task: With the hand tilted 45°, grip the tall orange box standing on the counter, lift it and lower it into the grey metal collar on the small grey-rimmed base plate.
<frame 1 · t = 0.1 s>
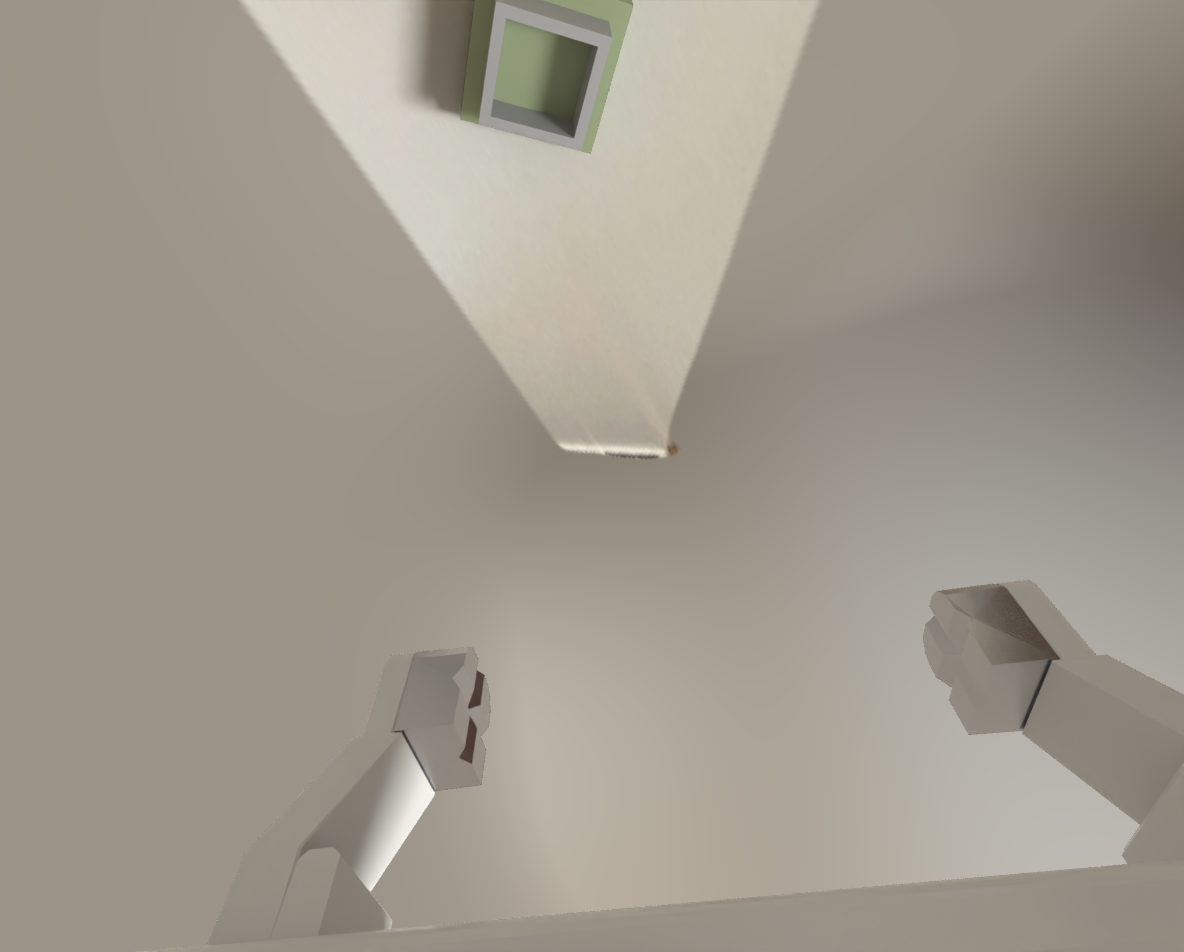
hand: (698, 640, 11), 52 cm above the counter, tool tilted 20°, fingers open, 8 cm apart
grey-rimmed base plate: (541, 54, 50), on the counter
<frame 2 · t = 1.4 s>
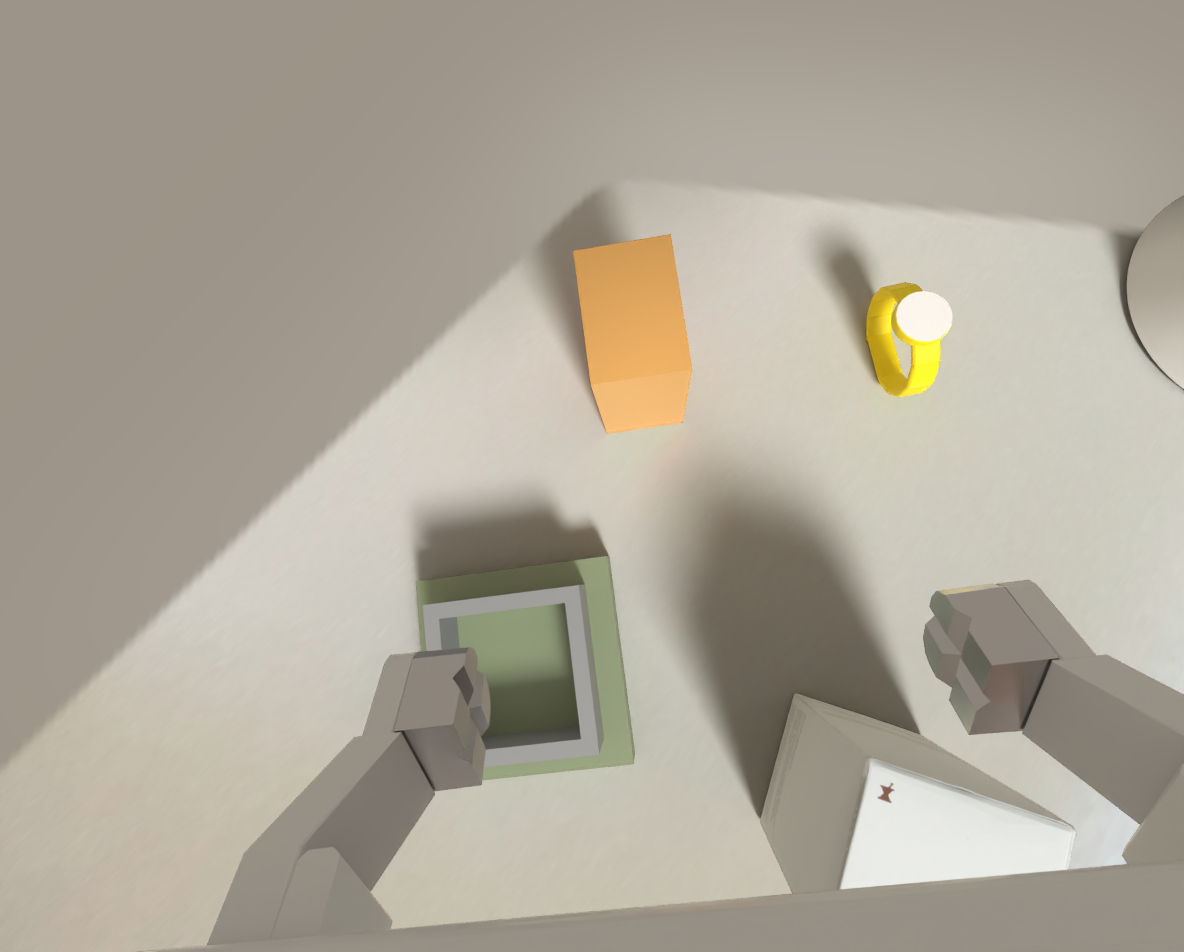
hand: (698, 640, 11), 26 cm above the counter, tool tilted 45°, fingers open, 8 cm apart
watch: (882, 358, 38), on the counter
grey-rimmed base plate: (527, 664, 37), on the counter
supplement box: (840, 778, 35), on the counter
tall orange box: (639, 391, 39), on the counter
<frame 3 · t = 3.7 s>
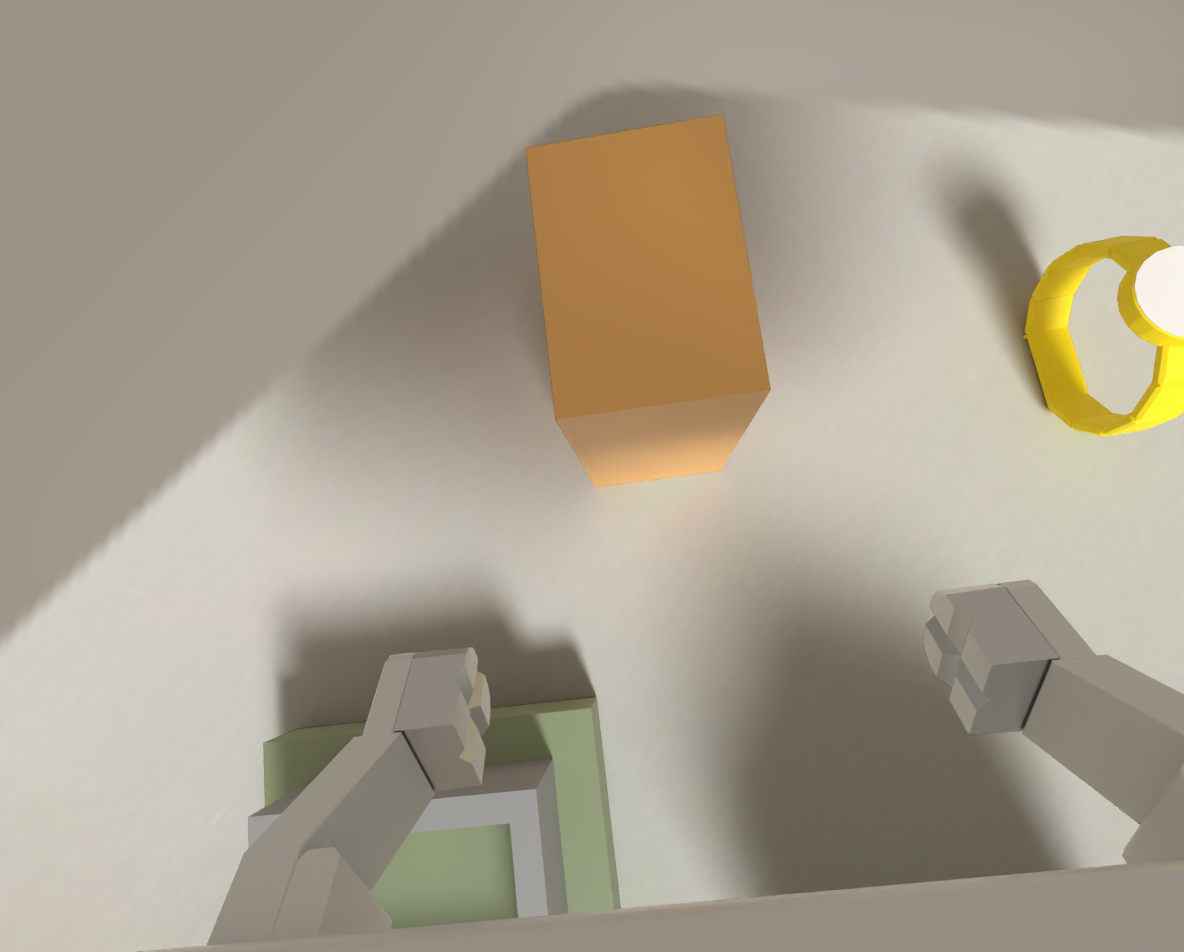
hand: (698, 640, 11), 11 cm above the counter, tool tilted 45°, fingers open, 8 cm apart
watch: (1050, 368, 23), on the counter
grey-rimmed base plate: (456, 881, 22), on the counter
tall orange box: (649, 419, 24), on the counter
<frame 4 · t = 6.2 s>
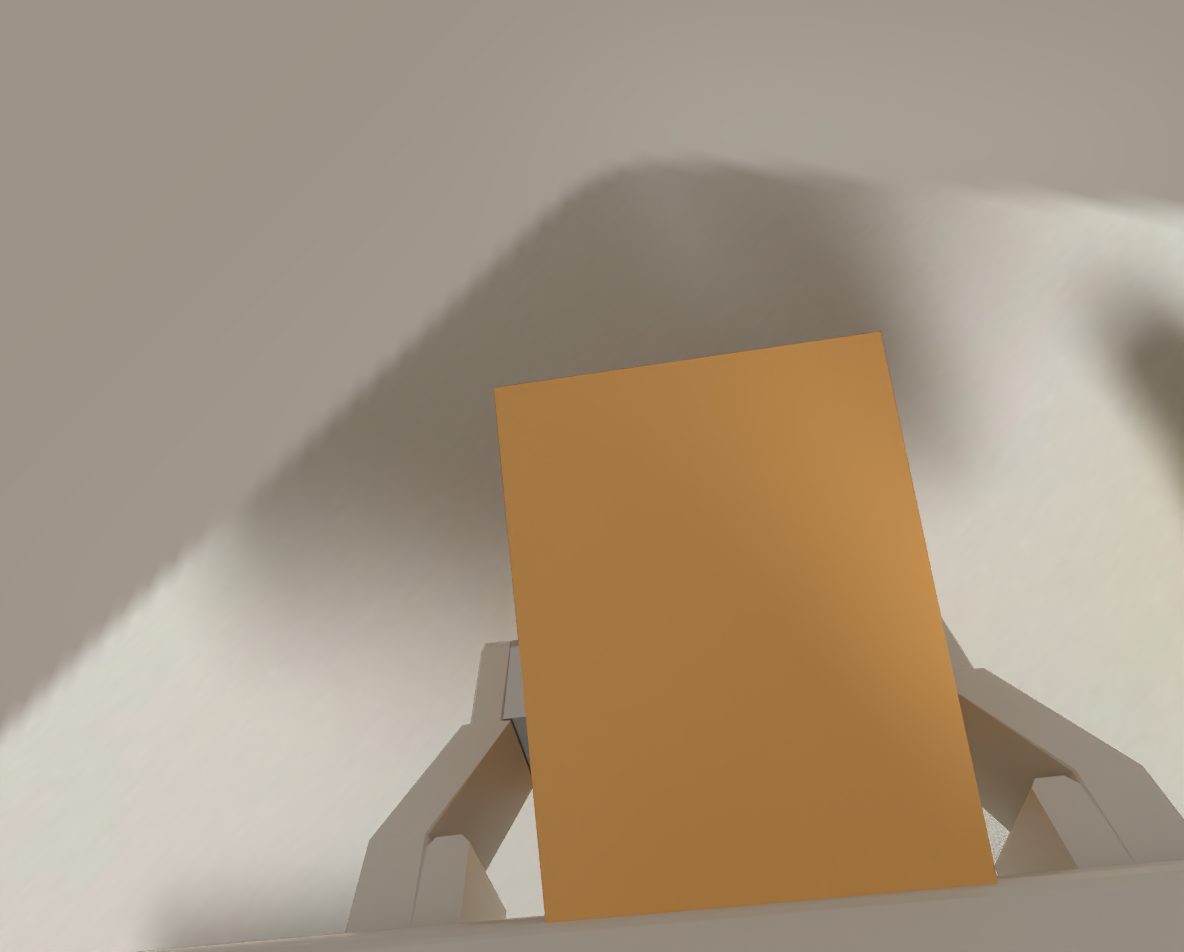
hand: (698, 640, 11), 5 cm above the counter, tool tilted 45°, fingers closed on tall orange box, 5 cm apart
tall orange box: (686, 647, 17), on the counter, touching gripper
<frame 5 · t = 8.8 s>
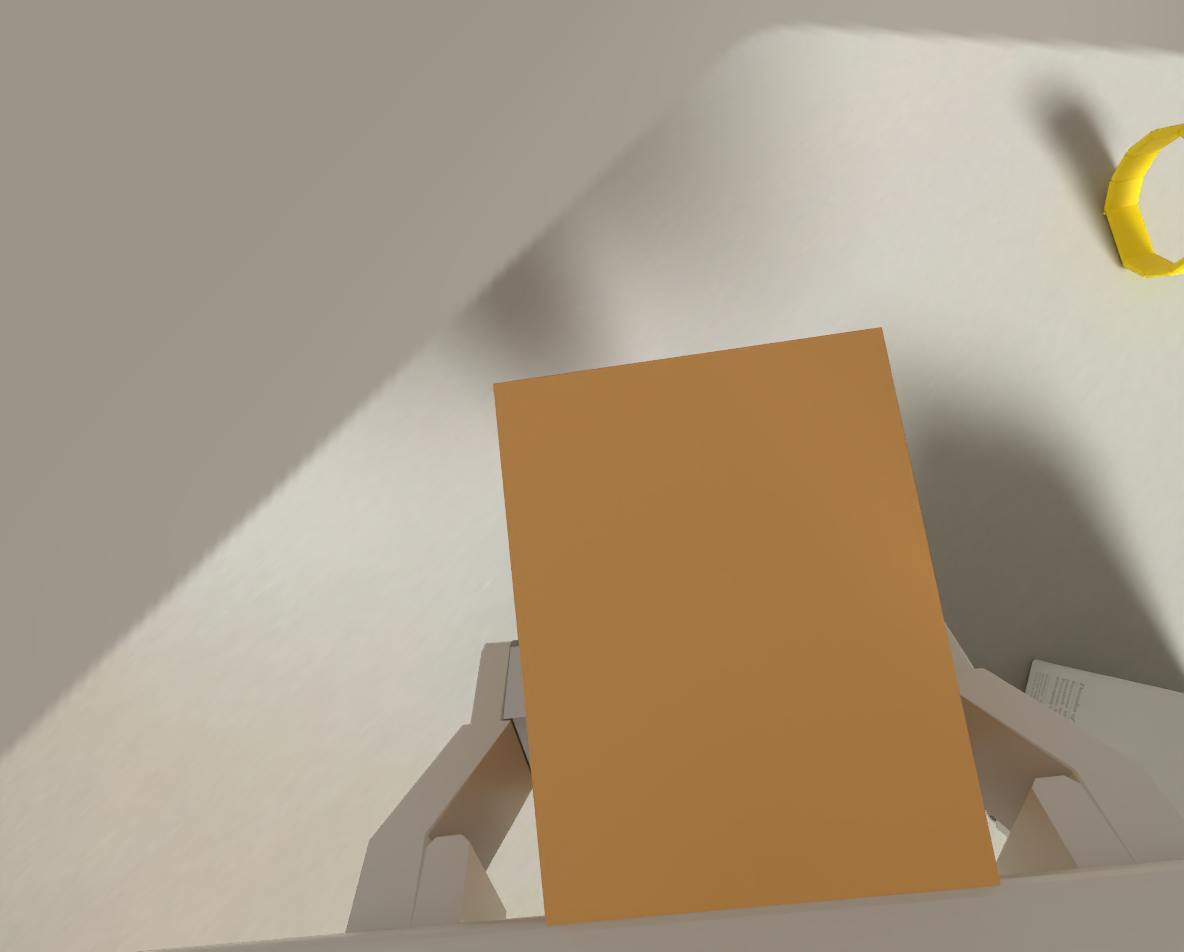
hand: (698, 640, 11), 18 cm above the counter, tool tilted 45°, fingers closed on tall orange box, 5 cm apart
watch: (1124, 237, 30), on the counter
supplement box: (1098, 770, 26), on the counter
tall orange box: (686, 645, 17), point 12 cm above the counter, touching gripper
when the fingers open (9 cm above the counter, at t = 11.4 s): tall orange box drops 1 cm, resting on grey-rimmed base plate.
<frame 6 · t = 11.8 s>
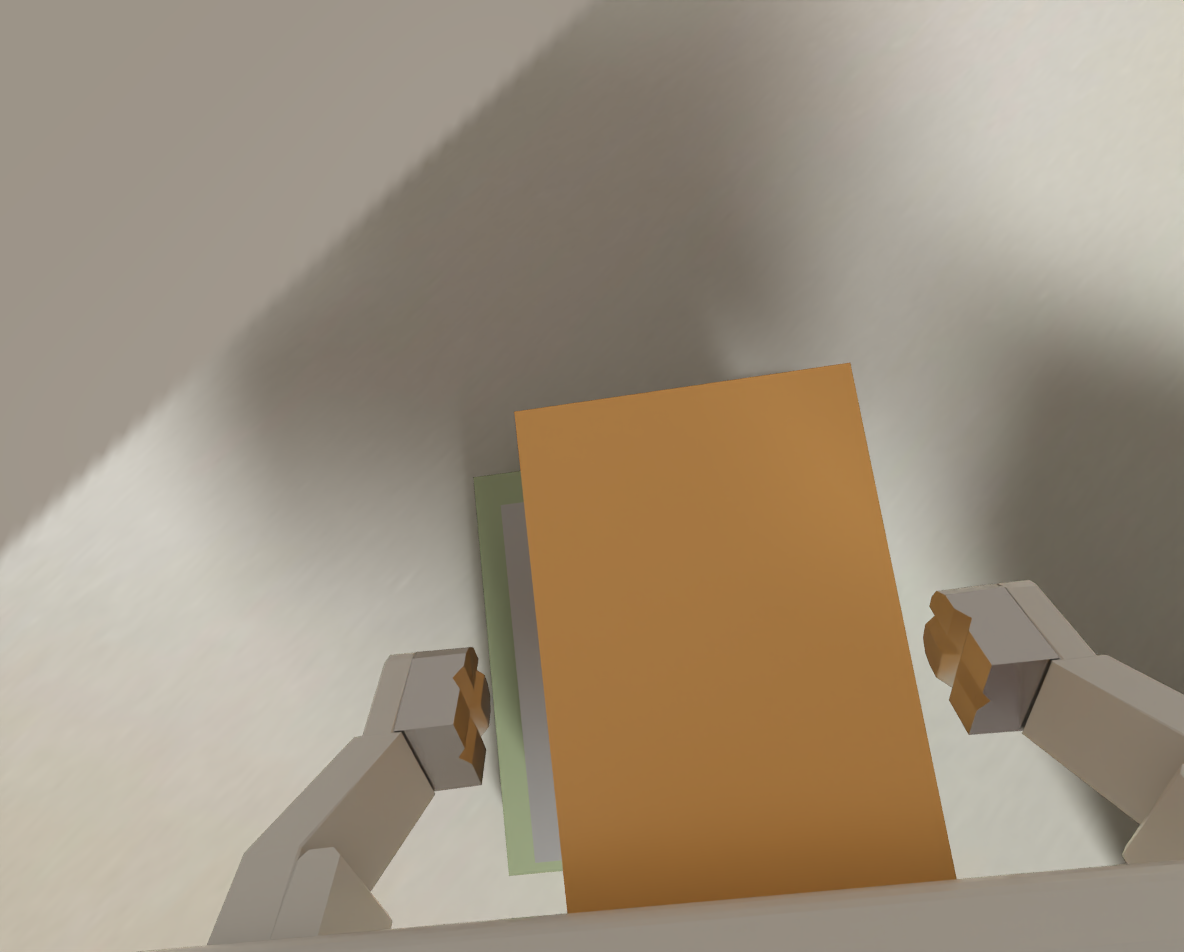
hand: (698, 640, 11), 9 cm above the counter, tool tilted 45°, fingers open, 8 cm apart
grey-rimmed base plate: (679, 637, 20), on the counter
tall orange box: (684, 642, 18), point 2 cm above the counter, touching grey-rimmed base plate
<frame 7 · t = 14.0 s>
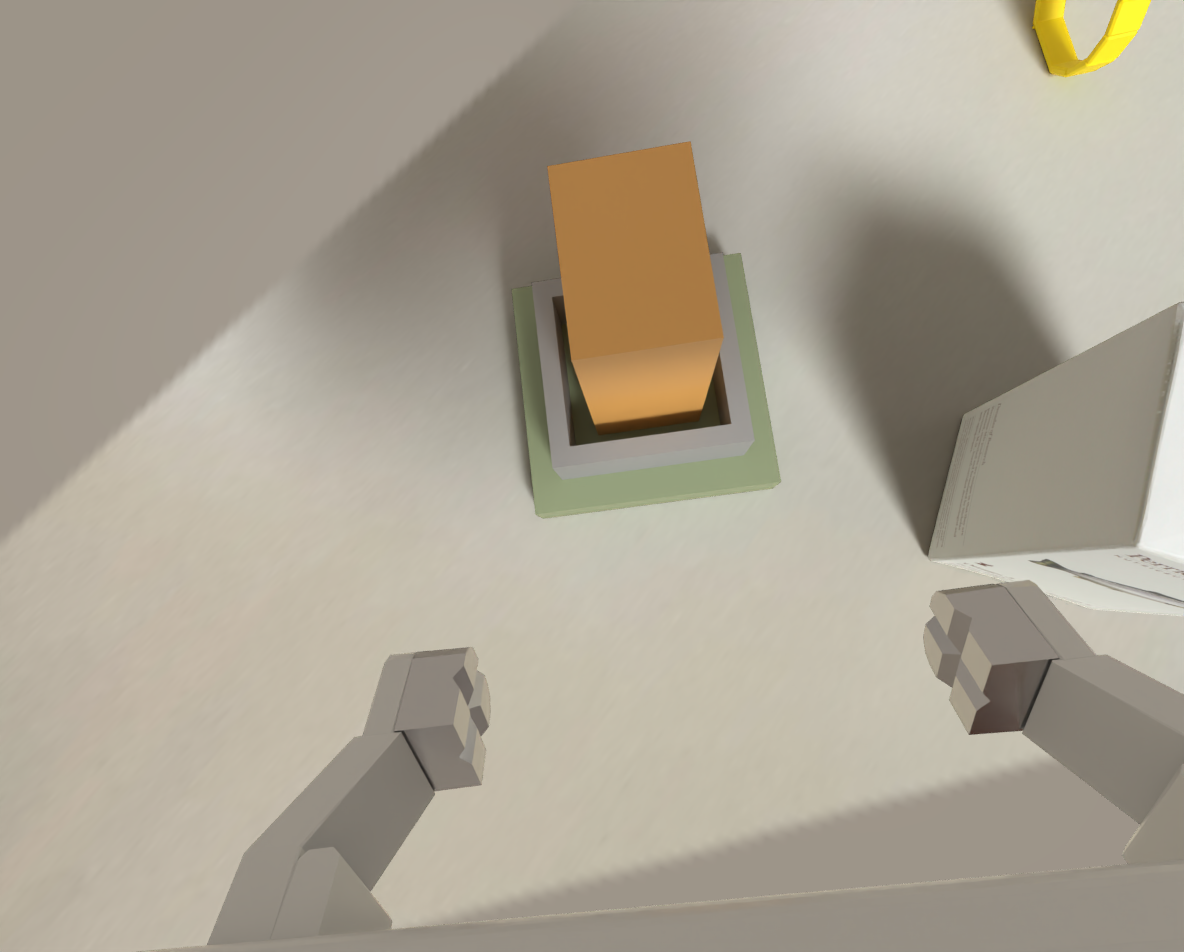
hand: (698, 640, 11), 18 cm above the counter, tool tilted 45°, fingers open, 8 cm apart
watch: (1051, 49, 33), on the counter
grey-rimmed base plate: (640, 393, 31), on the counter
supplement box: (1021, 510, 29), on the counter
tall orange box: (641, 380, 29), point 2 cm above the counter, touching grey-rimmed base plate
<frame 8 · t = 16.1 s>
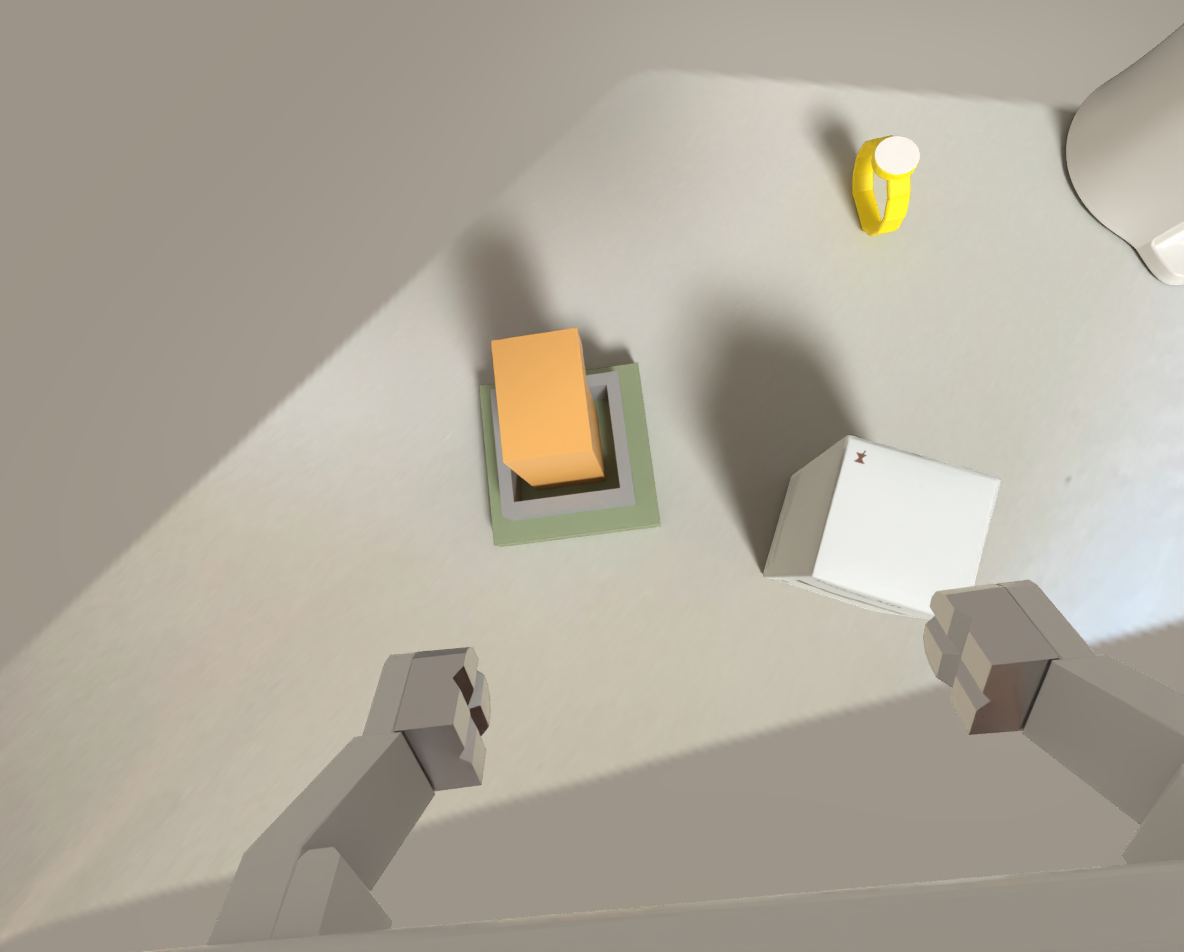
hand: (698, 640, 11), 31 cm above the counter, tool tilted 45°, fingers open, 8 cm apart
watch: (865, 211, 46), on the counter
grey-rimmed base plate: (570, 458, 44), on the counter
supplement box: (829, 542, 42), on the counter
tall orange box: (567, 452, 42), point 2 cm above the counter, touching grey-rimmed base plate
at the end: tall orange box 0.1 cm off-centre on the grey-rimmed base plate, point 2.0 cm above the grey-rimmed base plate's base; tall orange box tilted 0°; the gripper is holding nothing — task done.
